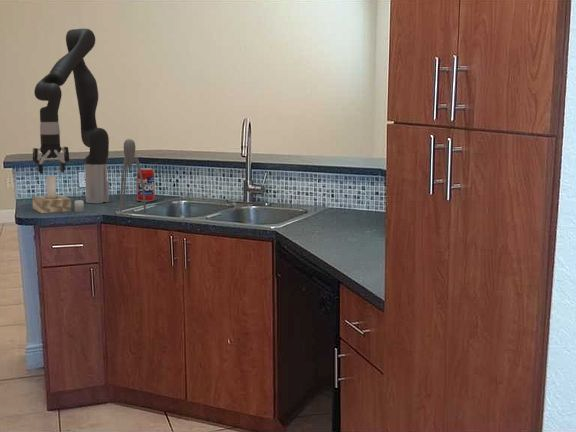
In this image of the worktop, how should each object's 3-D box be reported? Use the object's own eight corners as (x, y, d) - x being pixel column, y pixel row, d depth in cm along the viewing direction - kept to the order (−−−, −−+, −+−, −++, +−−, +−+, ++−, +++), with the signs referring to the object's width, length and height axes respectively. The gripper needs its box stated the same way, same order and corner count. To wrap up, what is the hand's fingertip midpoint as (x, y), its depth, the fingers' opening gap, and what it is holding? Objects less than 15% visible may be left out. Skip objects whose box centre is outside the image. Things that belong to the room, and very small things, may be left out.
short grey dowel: (81, 210, 297) (81, 200, 296) (85, 212, 294) (84, 201, 293) (73, 211, 295) (73, 200, 294) (76, 212, 292) (76, 201, 291)
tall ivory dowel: (54, 209, 299) (54, 175, 296) (57, 210, 296) (56, 176, 293) (46, 209, 297) (45, 176, 294) (48, 210, 294) (47, 176, 291)
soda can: (147, 199, 333) (147, 167, 331) (157, 201, 328) (157, 168, 325) (133, 200, 328) (133, 168, 325) (143, 203, 322) (143, 169, 320)
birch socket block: (61, 207, 304) (61, 195, 304) (71, 211, 295) (70, 199, 294) (32, 208, 297) (32, 197, 297) (41, 213, 288) (41, 200, 287)
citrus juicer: (146, 211, 300) (145, 139, 295) (131, 214, 291) (130, 140, 286) (124, 208, 304) (123, 138, 299) (108, 212, 295) (108, 139, 290)
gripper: (64, 132, 298) (65, 170, 301) (29, 133, 289) (31, 172, 292) (70, 133, 292) (72, 172, 295) (35, 134, 283) (37, 174, 286)
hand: (51, 172), depth 294 cm, fingers open, 8 cm apart
